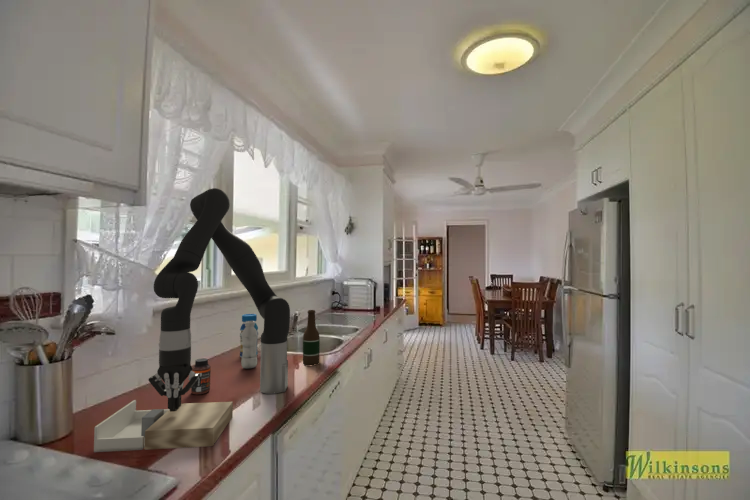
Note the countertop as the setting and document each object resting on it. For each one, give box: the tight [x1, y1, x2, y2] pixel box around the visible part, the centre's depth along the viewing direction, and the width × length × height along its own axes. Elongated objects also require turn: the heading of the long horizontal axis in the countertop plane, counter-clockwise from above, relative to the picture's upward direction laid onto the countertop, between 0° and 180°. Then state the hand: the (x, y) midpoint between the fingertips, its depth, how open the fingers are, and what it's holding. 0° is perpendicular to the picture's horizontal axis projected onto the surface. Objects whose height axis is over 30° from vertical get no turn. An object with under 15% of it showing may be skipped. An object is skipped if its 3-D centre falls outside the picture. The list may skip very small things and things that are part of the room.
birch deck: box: [144, 401, 234, 450], centre depth 93 cm, size 16×16×4 cm
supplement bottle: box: [190, 357, 211, 396], centre depth 120 cm, size 6×6×11 cm
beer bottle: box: [302, 309, 321, 366], centre depth 154 cm, size 8×8×24 cm
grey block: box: [141, 408, 164, 437], centre depth 91 cm, size 5×5×3 cm
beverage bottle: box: [239, 313, 259, 359], centre depth 166 cm, size 8×8×20 cm
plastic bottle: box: [240, 321, 258, 370], centre depth 148 cm, size 6×7×20 cm
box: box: [93, 399, 169, 453], centre depth 91 cm, size 11×16×6 cm
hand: (174, 410), depth 92 cm, fingers closed
